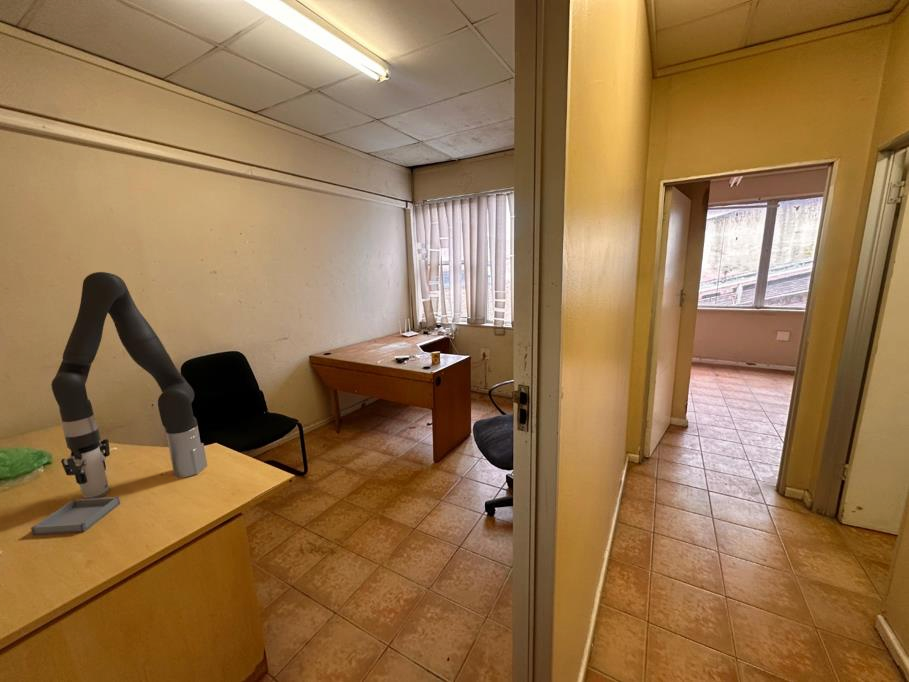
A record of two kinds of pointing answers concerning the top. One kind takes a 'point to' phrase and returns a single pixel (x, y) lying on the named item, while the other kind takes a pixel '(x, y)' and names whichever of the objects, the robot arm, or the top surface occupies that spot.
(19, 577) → the top surface
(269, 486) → the top surface
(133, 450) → the top surface
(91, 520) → the tray
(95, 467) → the travel mug
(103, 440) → the robot arm
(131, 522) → the top surface
